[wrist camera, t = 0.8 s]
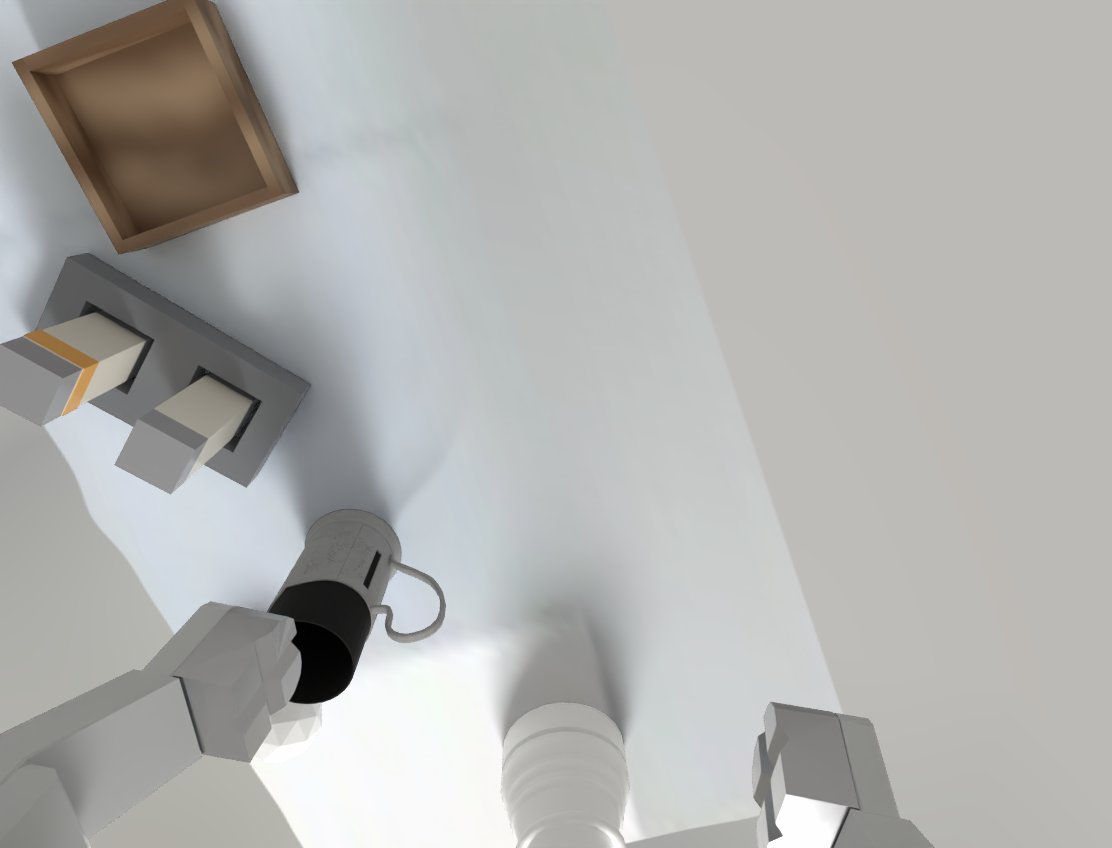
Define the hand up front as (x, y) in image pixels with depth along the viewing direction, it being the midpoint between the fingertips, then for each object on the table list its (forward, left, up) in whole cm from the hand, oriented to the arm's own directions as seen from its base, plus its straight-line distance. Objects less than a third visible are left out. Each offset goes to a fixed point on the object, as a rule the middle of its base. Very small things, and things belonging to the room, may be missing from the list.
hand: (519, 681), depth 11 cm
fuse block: (-2, -30, -45) cm, 54 cm away
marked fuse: (-5, -33, -45) cm, 56 cm away
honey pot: (+48, -13, -46) cm, 68 cm away
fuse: (+2, -27, -45) cm, 53 cm away
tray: (-18, -21, -45) cm, 53 cm away
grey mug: (+19, -21, -46) cm, 54 cm away
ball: (+31, -36, -46) cm, 66 cm away
